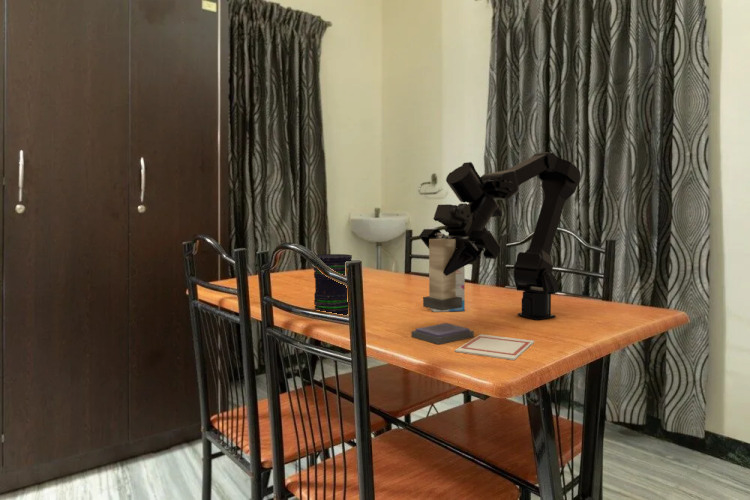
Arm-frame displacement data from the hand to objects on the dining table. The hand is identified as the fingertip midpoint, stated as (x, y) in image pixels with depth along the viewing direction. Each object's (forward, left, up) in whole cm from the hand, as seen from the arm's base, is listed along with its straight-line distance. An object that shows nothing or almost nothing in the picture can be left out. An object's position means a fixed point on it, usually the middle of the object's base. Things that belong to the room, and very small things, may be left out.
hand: (437, 273), depth 103 cm
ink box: (-19, -24, -14) cm, 33 cm away
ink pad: (-1, 0, -13) cm, 13 cm away
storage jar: (+9, -34, -14) cm, 37 cm away
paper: (-6, +11, -13) cm, 18 cm away
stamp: (-1, 0, -7) cm, 7 cm away
